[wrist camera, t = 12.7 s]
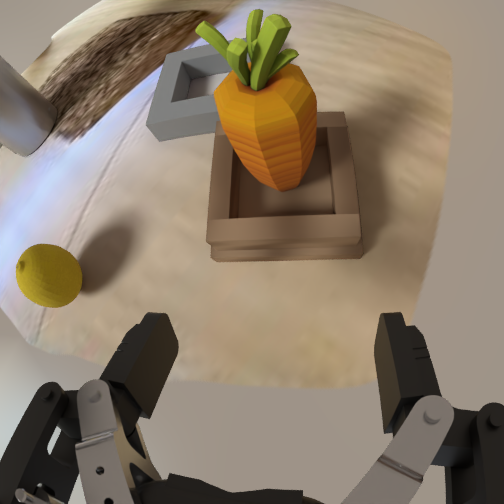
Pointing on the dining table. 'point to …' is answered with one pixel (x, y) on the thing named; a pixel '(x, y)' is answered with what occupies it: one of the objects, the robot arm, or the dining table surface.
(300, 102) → the carrot
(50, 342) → the dining table surface
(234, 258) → the square wooden tray
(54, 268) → the lemon
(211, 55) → the socket block
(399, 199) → the dining table surface
